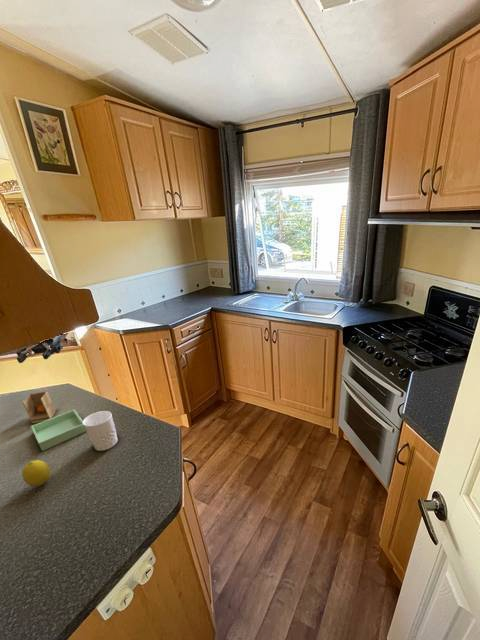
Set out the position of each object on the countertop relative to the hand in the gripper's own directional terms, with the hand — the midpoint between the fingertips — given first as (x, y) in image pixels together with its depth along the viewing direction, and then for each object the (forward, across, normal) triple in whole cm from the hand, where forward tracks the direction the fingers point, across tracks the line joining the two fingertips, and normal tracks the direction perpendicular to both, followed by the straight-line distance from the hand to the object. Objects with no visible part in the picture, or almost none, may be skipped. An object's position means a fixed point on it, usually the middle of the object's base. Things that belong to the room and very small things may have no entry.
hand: (31, 359), depth 107 cm
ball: (+9, 0, +17) cm, 19 cm away
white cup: (+33, +28, +18) cm, 47 cm away
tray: (+22, +10, +18) cm, 31 cm away
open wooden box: (+11, 0, +20) cm, 22 cm away
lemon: (+46, +16, +16) cm, 52 cm away
